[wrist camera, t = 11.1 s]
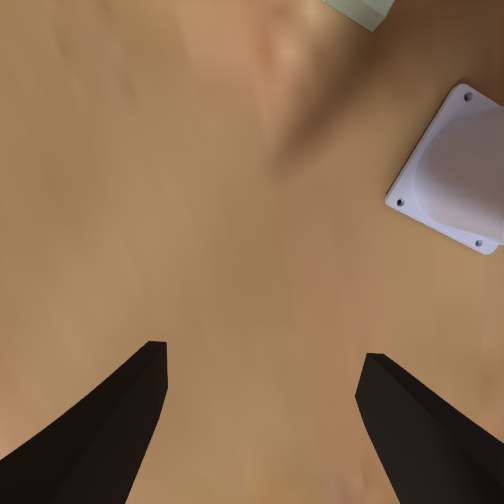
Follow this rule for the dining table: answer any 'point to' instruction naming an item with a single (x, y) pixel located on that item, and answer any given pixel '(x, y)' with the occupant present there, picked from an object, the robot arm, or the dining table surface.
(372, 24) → the pin tray
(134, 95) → the dining table surface
